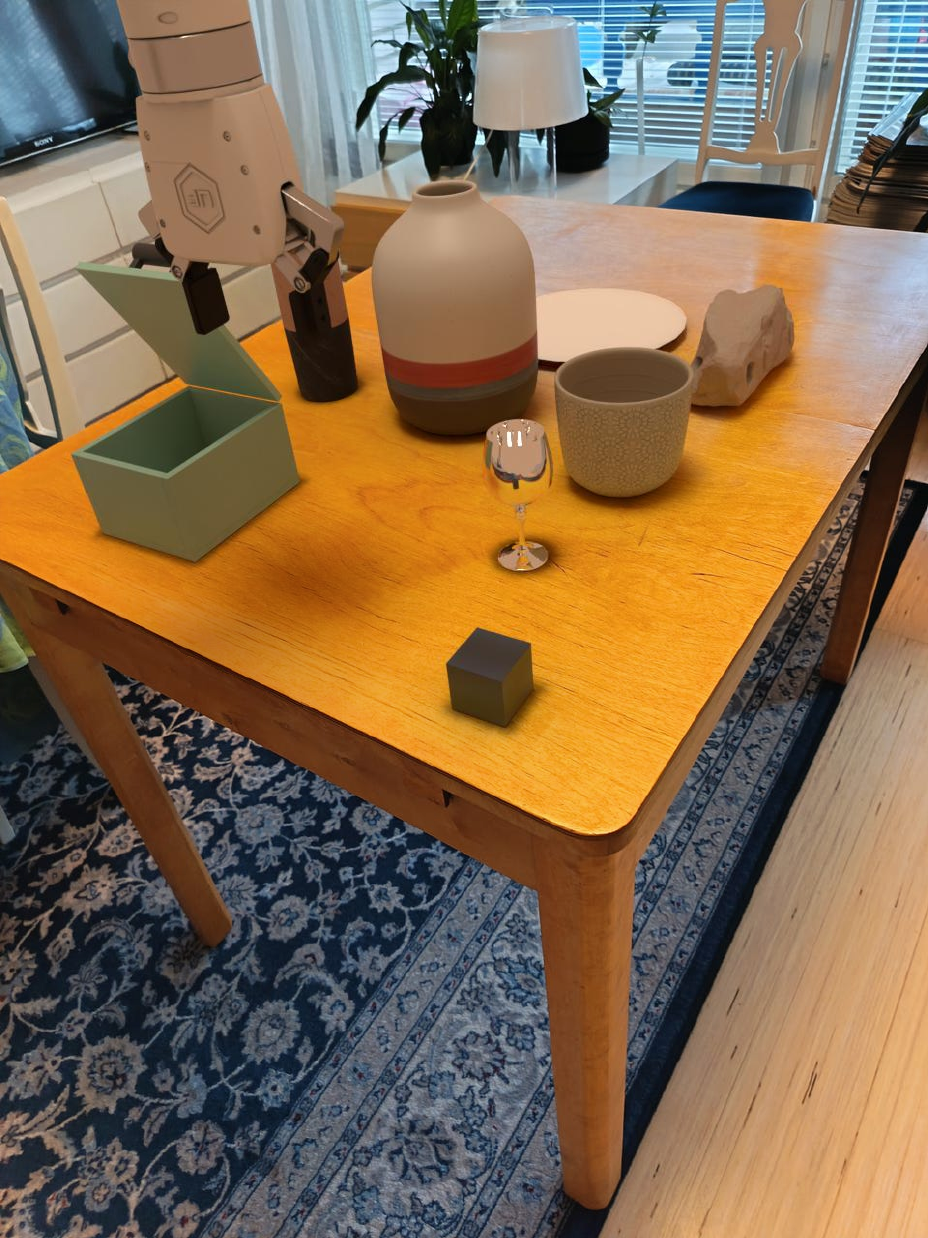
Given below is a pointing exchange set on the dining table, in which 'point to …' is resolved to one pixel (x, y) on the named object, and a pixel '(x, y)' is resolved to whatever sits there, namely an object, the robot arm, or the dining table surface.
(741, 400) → the decorative stone
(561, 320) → the plate
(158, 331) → the cool box lid
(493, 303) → the vase
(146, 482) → the cool box
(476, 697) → the block
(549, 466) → the wineglass
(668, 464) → the planter
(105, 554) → the dining table surface
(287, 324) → the travel mug
